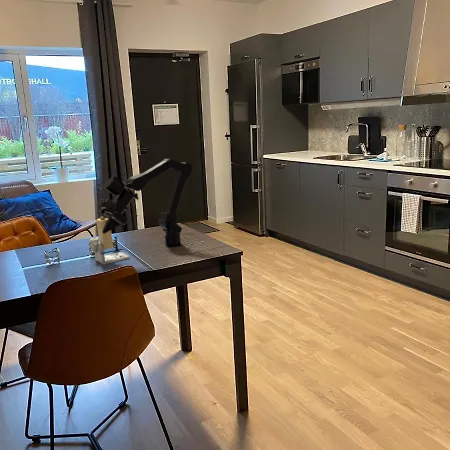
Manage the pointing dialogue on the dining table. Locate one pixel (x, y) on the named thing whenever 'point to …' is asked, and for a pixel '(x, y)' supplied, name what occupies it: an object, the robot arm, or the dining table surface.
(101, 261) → the fixed leaf
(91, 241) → the valve
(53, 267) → the dining table surface
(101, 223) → the loose leaf
